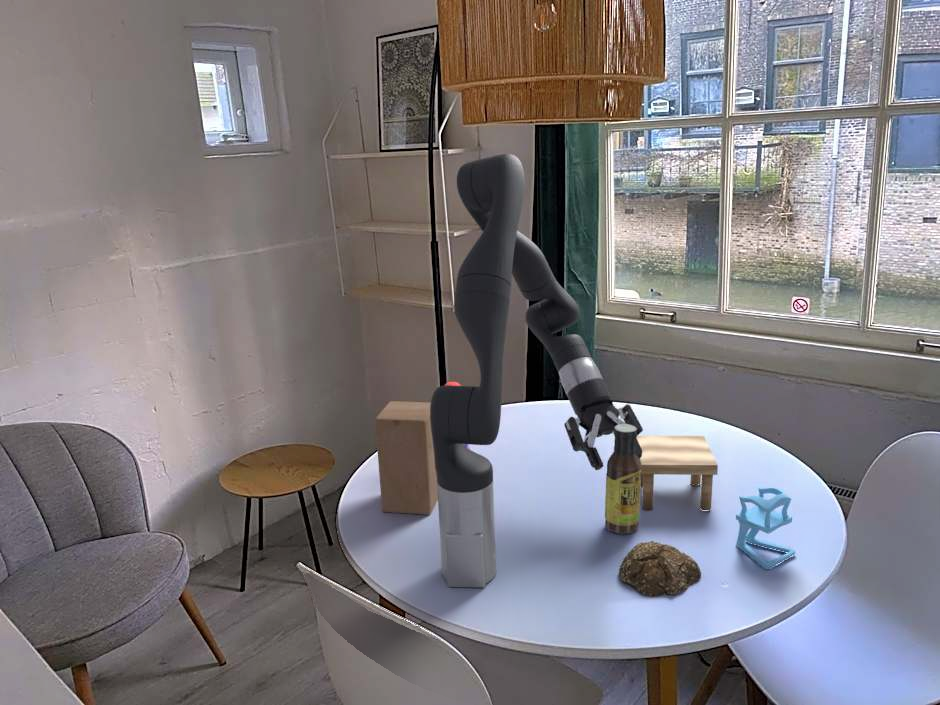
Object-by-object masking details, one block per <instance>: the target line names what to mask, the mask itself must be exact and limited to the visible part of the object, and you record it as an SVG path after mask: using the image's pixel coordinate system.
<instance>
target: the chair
mask: <svg viewBox="0 0 940 705" xmlns="http://www.w3.org/2000/svg"><path fill="white" fill-rule="evenodd" d="M757 489H758V493H759V494H758V495H759V496H758V495H748V496H744V495H738V498H739V501H740V505H741V511H740V512H739V513H736V514H735V520H736V521H738V525H739V528H738V530H739V531H738V534H737V539H736V544H735V547H736V548H738V547H739V548H740V549H739V548H738V549H739V550H741V551H742V550H743V551H744V552H743V551H742V552H743V553H745V554H746V553H747V554H748V555H749V556H750V557H751V558H750V557H749V556H748V555H747V554H746V555H747V556H748V557H749V558H750V559H752V558H753V559H754V560H755V561H756V562H757V563H756V562H755V561H754V560H753V559H752V560H753V561H754V562H755V563H756V564H757V565H759V566H760V565H761V566H762V567H761V566H760V567H761V568H763V567H764V568H765V569H764V568H763V569H764V570H766V569H770V568H772V567H773V566H775V565H776V564H778V563H780V562H782V561H783V560H785V559H787V558H789V557H790V556H792V555H794V554H795V555H796V550H795V549H793V548H790V547H787V546H783V545H779V544H776V543H772V542H769V541H764V540H761V539H757V538H755V537H756V536H757V534H758V533H759V531H761V532H763V533H765V534H771V533H772V532H775V530H777V529H779V528H780V527H783V526H786V525H789V524H791V523H792V522H793V517H792V516H789V515H788V508H789V506H790V504H791V502H792V498H791V497H790V496H789V495H787V493H785V492H784V491H783V490H781V489H779V488H776V487H766V488H765V487H760V486H758V488H757ZM764 494H766V495H767V494H773V495H775V496H773V497H771V498H769V499H767V498H765V497H764ZM746 503H751V504H753V505H754V506H753V507H751V508H749V509H748V507H747V505H746ZM781 506H783V507H782V508H781V509H782V510H781V512H779V511H777V510H776V509H777V508H779V507H781ZM749 530H750V531H749ZM745 541H747V542H749V543H752V544H756V545H759V546H764V547H767V548H772V549H776V550H780V551H784V552H788V553H786V554H785V553H783V554H782V555H780V556H778V557H776V558H774V559H772V560H770V561H769V562H767V561H766V560H764V558H762V557H761V556H760V555H758V553H757V552H755V551H754V549H752V548H751V547H750V546H749V545H748V544H749V543H748V544H747V542H745ZM752 544H751V545H752ZM759 546H758V547H759ZM772 569H773V568H772ZM770 570H771V569H770Z"/></svg>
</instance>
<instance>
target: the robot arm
mask: <svg viewBox="0 0 940 705" xmlns="http://www.w3.org/2000/svg"><path fill="white" fill-rule="evenodd" d="M456 189H457V192H458V196H459V198H460V201H461V202H462V204H463V206H464V208H465V209H466V210H467V212H468V214H469V215H470V216H471V217H472V219H473V221H475V223H476V224H477V225H478V227H479V229H481V231H482V232H481V235H480V236H479V237H478V238H477V240H476V241H475V243H474V244H473V246H472V248H471V249H470V250H469V252H468V254H467V255H466V257H465V258H464V260H463V261H462V263H461V266H460V267H459V270H458V273H457V276H456V284H455V292H454V299H453V300H454V301H453V311H454V315H455V317H456V320H457V322H458V324H459V327H460V329H461V330H462V333H463V334H464V336H465V338H466V339H467V341H468V343H469V345H470V346H471V349H472V351H473V353H474V355H475V357H476V360H477V363H478V367H479V373H480V382H479V383H480V384H479V386H473V385H471V386H469V385H468V386H467V385H461V386H449V385H446V386H444V385H440V386H439V387H436V389H435V390H434V392H433V393H432V396H431V398H430V403H431V405H430V422H431V432H432V440H433V449H434V460H435V469H436V474H437V490H438V500H437V504H438V506H437V507H438V521H439V523H438V524H439V540H440V541H439V542H440V558H441V560H440V561H441V573H442V577H443V578H444V580H445V581H446V582H447V586H448V588H449V587H450V588H451V587H452V588H486V585H487V584H488V583H489V582H490V581H492V580H493V579H494V578H495V576H496V574H497V555H496V554H497V553H496V552H497V551H496V528H495V526H496V525H495V502H494V500H495V499H494V497H495V496H494V495H495V493H494V469H493V464H492V463H491V461H490V459H488V458H486V456H483V455H482V454H479V453H477V452H474V451H473V450H471V449H470V450H469V449H468V448H466V447H465V446H464V445H463V444H469V445H473V446H474V445H475V446H490V445H493V444H494V442H495V441H496V440H497V438H498V435H499V432H500V426H501V419H502V417H501V416H502V414H501V413H502V399H503V398H502V392H503V390H502V389H503V368H504V367H503V366H504V350H505V341H506V333H507V324H508V317H509V311H510V300H511V291H512V280H514V282H515V283H516V286H517V287H518V289H519V291H520V293H521V295H522V296H523V298H525V300H528V301H530V302H534V301H535V302H536V301H538V302H536V303H534V304H532V305H530V306H529V307H528V308H527V310H526V311H525V322H526V325H527V327H528V328H529V330H530V331H531V332H532V333H533V335H534V336H535V337H536V338H537V339H538V340H539V341H540V342H541V343H542V344H543V346H544V347H545V348H546V350H547V352H548V354H549V355H550V357H551V359H552V361H553V364H554V366H555V368H556V371H557V373H558V375H559V378H560V383H561V385H562V387H563V389H564V392H565V394H566V396H567V398H568V401H569V403H570V405H571V408H572V409H573V412H574V414H575V415H576V416H577V417H574V416H570V417H569V418H568V419H567V420H566V421H565V422H564V425H563V426H564V428H565V430H566V434H567V436H568V439H569V442H570V445H571V447H572V449H573V451H574V452H577V453H578V452H579V451H580V452H583V453H585V456H586V458H587V459H588V462H589V464H590V466H591V468H592V469H594V470H595V471H600V470H601V469H602V468H603V467H604V462H603V460H602V458H601V456H600V453H599V451H598V449H597V446H595V442H596V438H600V437H602V436H610V435H611V434H612V435H614V428H615V426H617V425H620V424H629V425H632V426H635V427H636V428H637V436H640V434H642V432H643V431H644V429H643V427H642V424H641V423H640V421H639V419H638V418H637V416H636V414H635V412H634V410H633V408H632V406H631V404H628V403H627V404H625V405H624V406H623V407H619V408H617V407H616V406H615V405H614V404H613V398H612V395H611V393H610V391H609V389H608V387H607V384H606V383H605V381H604V378H603V376H602V374H601V372H600V369H599V368H598V366H597V365H596V362H594V360H593V358H592V356H591V354H590V351H589V349H588V348H587V345H586V342H585V341H584V339H583V337H582V336H580V335H579V334H577V333H576V334H574V333H573V334H566V335H559V336H558V335H557V336H556V335H554V334H556V333H558V332H561V331H563V330H565V329H567V328H569V327H572V326H573V325H575V324H576V323H577V322H578V320H579V318H580V308H579V305H578V304H577V302H576V300H575V299H574V298H573V297H572V296H571V294H570V293H568V292H567V291H566V290H565V288H563V287H562V285H561V284H560V283H559V282H558V281H557V279H556V277H555V276H554V273H553V272H552V270H551V267H550V266H549V262H548V261H547V259H546V256H545V255H544V253H543V252H542V250H541V249H540V248H539V246H537V244H535V243H534V242H533V241H532V240H531V239H530V238H528V237H527V236H526V235H525V234H523V233H521V232H520V231H519V230H518V228H519V223H520V218H521V213H522V210H523V209H522V208H523V204H524V198H525V192H526V191H525V190H526V179H525V171H524V167H523V164H522V162H521V160H520V159H519V158H518V157H517V156H516V155H514V154H512V153H501V154H496V155H492V156H489V157H488V156H487V157H485V158H479V159H475V160H472V161H469V162H466V163H464V164H462V165H461V166H460V167H459V170H458V172H457V174H456ZM512 277H513V279H512ZM619 417H620V418H619ZM580 427H581V428H583V430H585V434H584V438H583V436H582V433H581V432H580ZM637 436H636V441H635V448H636V450H635V453H636V455H637V457H638V458H639V459H640V458H641V457H642V449H641V447H640V445H639V442H638V440H637Z"/></svg>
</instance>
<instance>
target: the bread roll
mask: <svg viewBox="0 0 940 705" xmlns="http://www.w3.org/2000/svg"><path fill="white" fill-rule="evenodd" d="M618 571H619V578H620V581H621V582H623V583H626V584H628V585H631V586H633V587H634V588H635V589H636V590H637V591H638V592H639V593H640V594H642V595H643V596H646V597H660V596H661V597H662V596H663V595H670V596H672V595H673V596H674V595H680V593H682V592H685V591H687V590H688V589H689V587H690V586H691V585H692V584H695V583H698V582H699V581H700V578H701V576H702V571H701V568H700V567H699V564H698V563H697V561H696V560H694V559H693V557H691V556H689V555H687V554H686V553H685V552H682V551H680V550H679V549H678V548H676V547H674V546H672V545H670V544H665V543H661V542H660V541H659V542H658V541H657V542H655V541H654V540H651V541H646V542H639V543H637V545H635V546H633V548H631V549H630V551H628V552H627V555H626V556H625V557H624V558H623V560H622V561H621V564H620V565H619V568H618Z"/></svg>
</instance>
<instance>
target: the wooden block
mask: <svg viewBox="0 0 940 705" xmlns="http://www.w3.org/2000/svg"><path fill="white" fill-rule="evenodd" d="M430 405H431V402H426V401H425V402H423V401H420V402H419V401H396V400H390V401H389V402H388V403H387V404H386V405H385V407H384V408H383V409H382V410H381V411H380V413H378V415H377V416H376V417H375V418H374V422H375V425H374V426H375V435H376V436H375V438H376V447H377V448H376V450H377V460H378V473H379V476H378V477H379V486H380V500H381V509H382V510H381V512H383V513H393V514H395V513H396V514H411V515H422V516H423V515H428V516H429V515H432V514H431V513H432V512H433V509H434V508H435V506H436V504H437V503H438V490H437V474H436V469H435V460H434V449H433V440H432V432H431V422H430Z"/></svg>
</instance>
